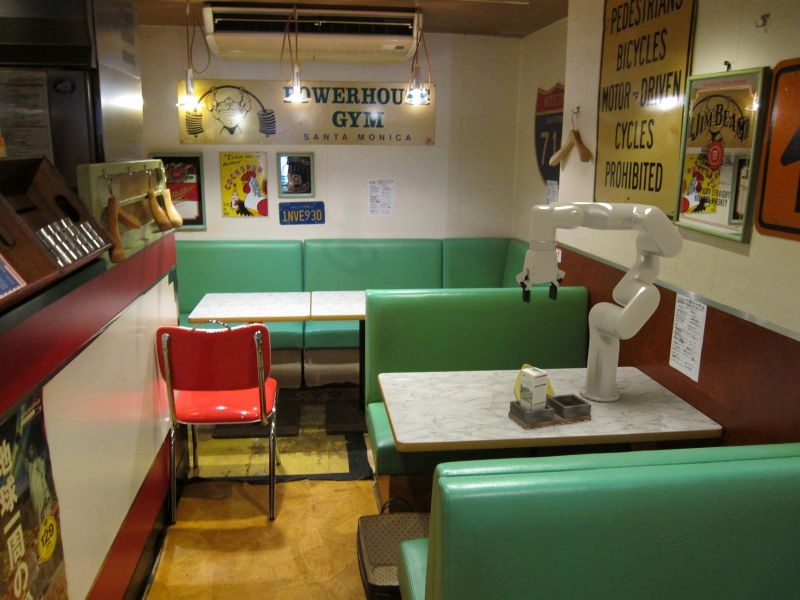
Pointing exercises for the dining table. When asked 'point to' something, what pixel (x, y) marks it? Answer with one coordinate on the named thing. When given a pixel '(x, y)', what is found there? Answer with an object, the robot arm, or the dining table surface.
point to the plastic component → (518, 384)
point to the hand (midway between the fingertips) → (539, 300)
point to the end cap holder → (552, 412)
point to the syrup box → (533, 389)
